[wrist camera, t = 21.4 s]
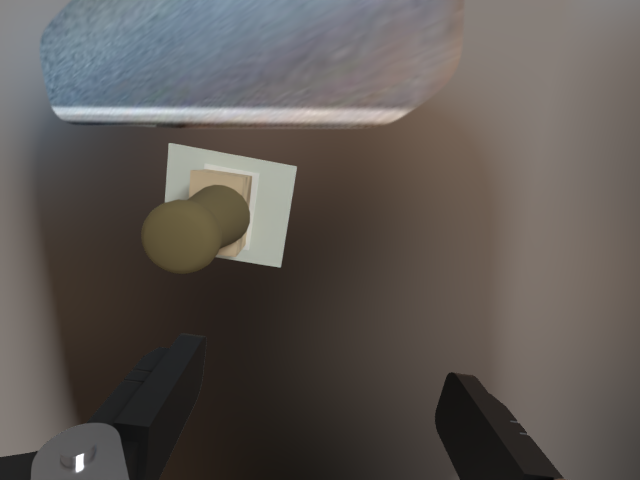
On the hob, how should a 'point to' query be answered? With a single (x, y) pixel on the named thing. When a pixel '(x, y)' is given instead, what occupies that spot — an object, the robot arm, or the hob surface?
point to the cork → (194, 228)
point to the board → (265, 200)
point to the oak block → (232, 180)
